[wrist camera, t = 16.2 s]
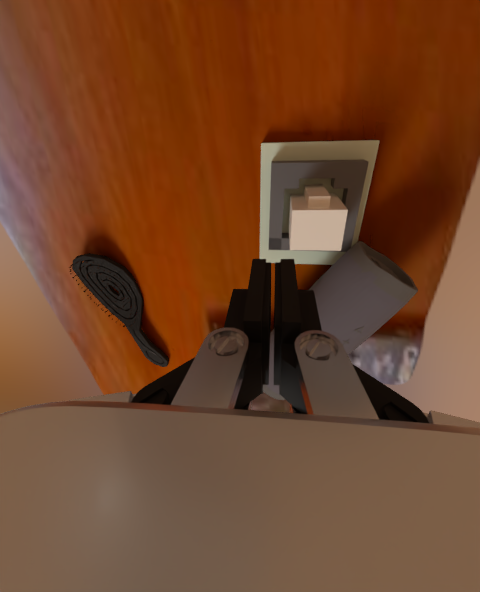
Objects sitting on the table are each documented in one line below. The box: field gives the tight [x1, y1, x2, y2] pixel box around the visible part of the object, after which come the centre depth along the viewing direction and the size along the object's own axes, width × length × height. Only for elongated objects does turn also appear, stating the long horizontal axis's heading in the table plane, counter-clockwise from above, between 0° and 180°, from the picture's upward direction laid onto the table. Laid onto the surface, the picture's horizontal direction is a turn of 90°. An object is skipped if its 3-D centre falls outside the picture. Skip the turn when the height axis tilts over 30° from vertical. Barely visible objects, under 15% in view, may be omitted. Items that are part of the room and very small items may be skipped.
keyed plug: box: [289, 184, 348, 251], centre depth 29 cm, size 5×5×7 cm
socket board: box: [260, 140, 380, 265], centre depth 31 cm, size 14×12×3 cm
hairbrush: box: [70, 253, 169, 367], centre depth 45 cm, size 8×4×25 cm
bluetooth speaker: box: [263, 241, 418, 400], centre depth 36 cm, size 23×9×10 cm, turn 150°
